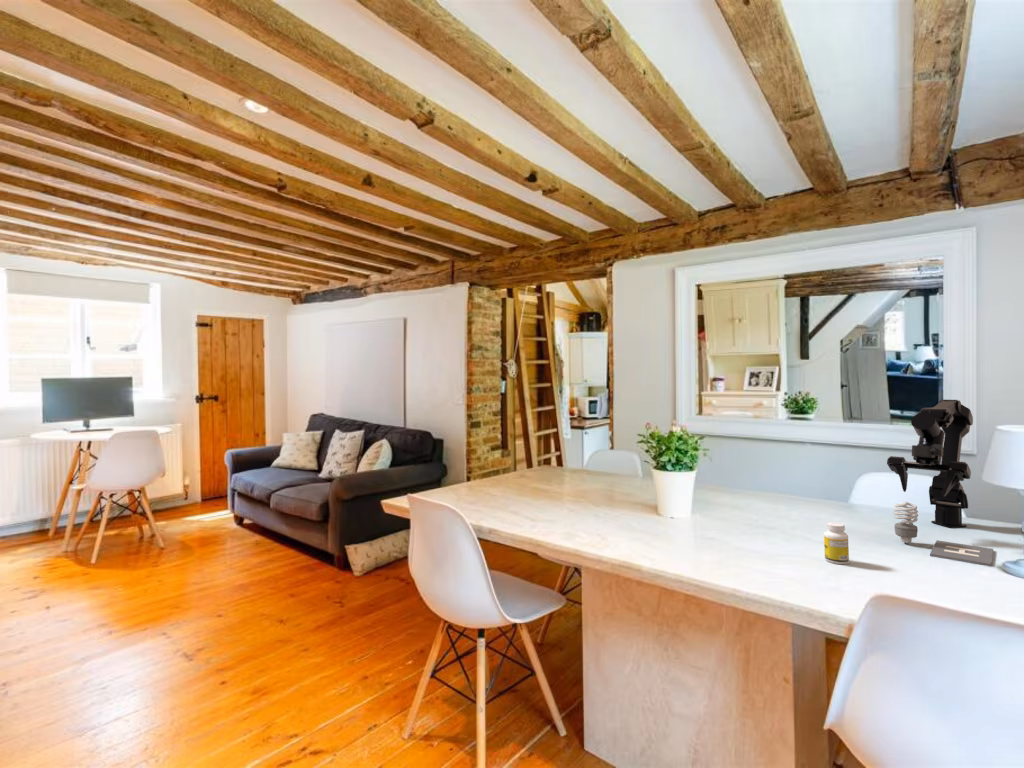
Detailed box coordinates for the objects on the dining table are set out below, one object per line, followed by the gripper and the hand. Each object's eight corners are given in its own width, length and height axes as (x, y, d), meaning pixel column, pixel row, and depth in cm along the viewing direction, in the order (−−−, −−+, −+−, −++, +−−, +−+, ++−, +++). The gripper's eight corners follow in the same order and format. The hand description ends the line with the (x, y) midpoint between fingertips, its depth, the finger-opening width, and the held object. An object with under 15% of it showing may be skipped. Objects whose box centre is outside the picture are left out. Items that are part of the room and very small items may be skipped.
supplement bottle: (826, 556, 139) (825, 520, 139) (850, 560, 136) (849, 523, 136) (822, 562, 135) (822, 524, 135) (847, 566, 132) (846, 527, 132)
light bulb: (908, 547, 146) (907, 504, 146) (889, 541, 151) (888, 500, 151) (923, 545, 147) (922, 503, 147) (903, 540, 152) (903, 499, 152)
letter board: (936, 542, 150) (936, 539, 150) (993, 551, 142) (993, 548, 142) (930, 555, 138) (930, 553, 138) (991, 566, 130) (991, 563, 130)
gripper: (885, 431, 158) (877, 477, 153) (965, 435, 144) (959, 486, 139) (895, 447, 164) (888, 493, 159) (973, 453, 150) (967, 503, 145)
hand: (923, 493), depth 150 cm, fingers open, 9 cm apart
